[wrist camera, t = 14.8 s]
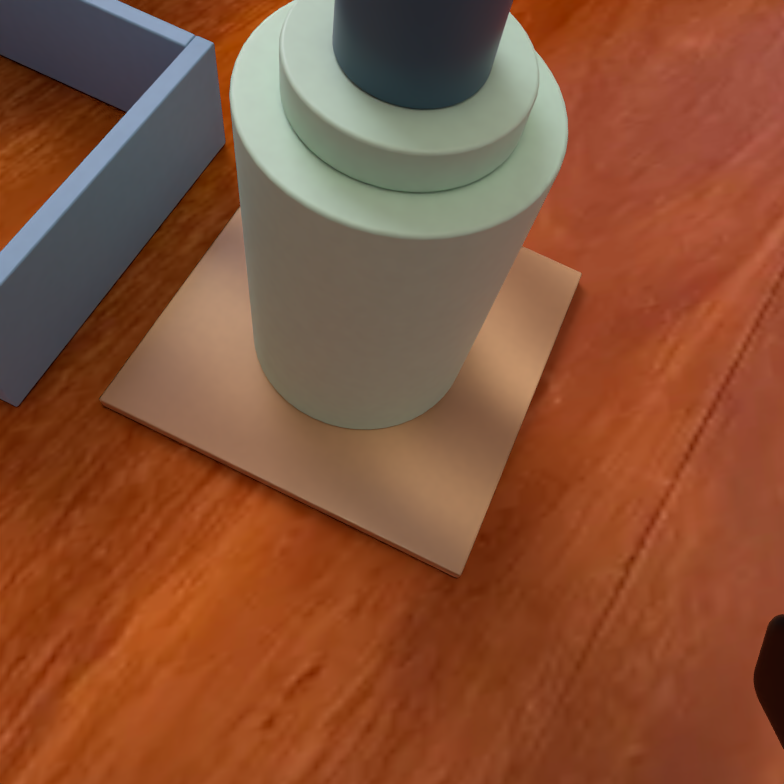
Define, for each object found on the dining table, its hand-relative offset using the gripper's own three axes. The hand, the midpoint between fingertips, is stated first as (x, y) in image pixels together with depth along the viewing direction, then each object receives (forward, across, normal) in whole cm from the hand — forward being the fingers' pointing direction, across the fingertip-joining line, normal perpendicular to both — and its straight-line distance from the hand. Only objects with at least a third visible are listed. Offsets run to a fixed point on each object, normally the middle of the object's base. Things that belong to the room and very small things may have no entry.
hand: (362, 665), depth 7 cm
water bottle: (+15, -1, +1) cm, 15 cm away
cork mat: (+15, -1, +1) cm, 15 cm away
